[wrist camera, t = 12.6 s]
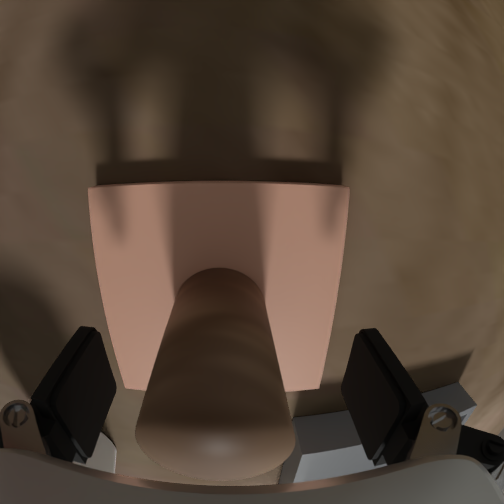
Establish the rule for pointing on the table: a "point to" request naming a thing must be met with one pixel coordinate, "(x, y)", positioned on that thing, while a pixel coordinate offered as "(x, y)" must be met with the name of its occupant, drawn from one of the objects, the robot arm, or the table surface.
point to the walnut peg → (217, 384)
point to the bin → (348, 440)
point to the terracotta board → (220, 261)
